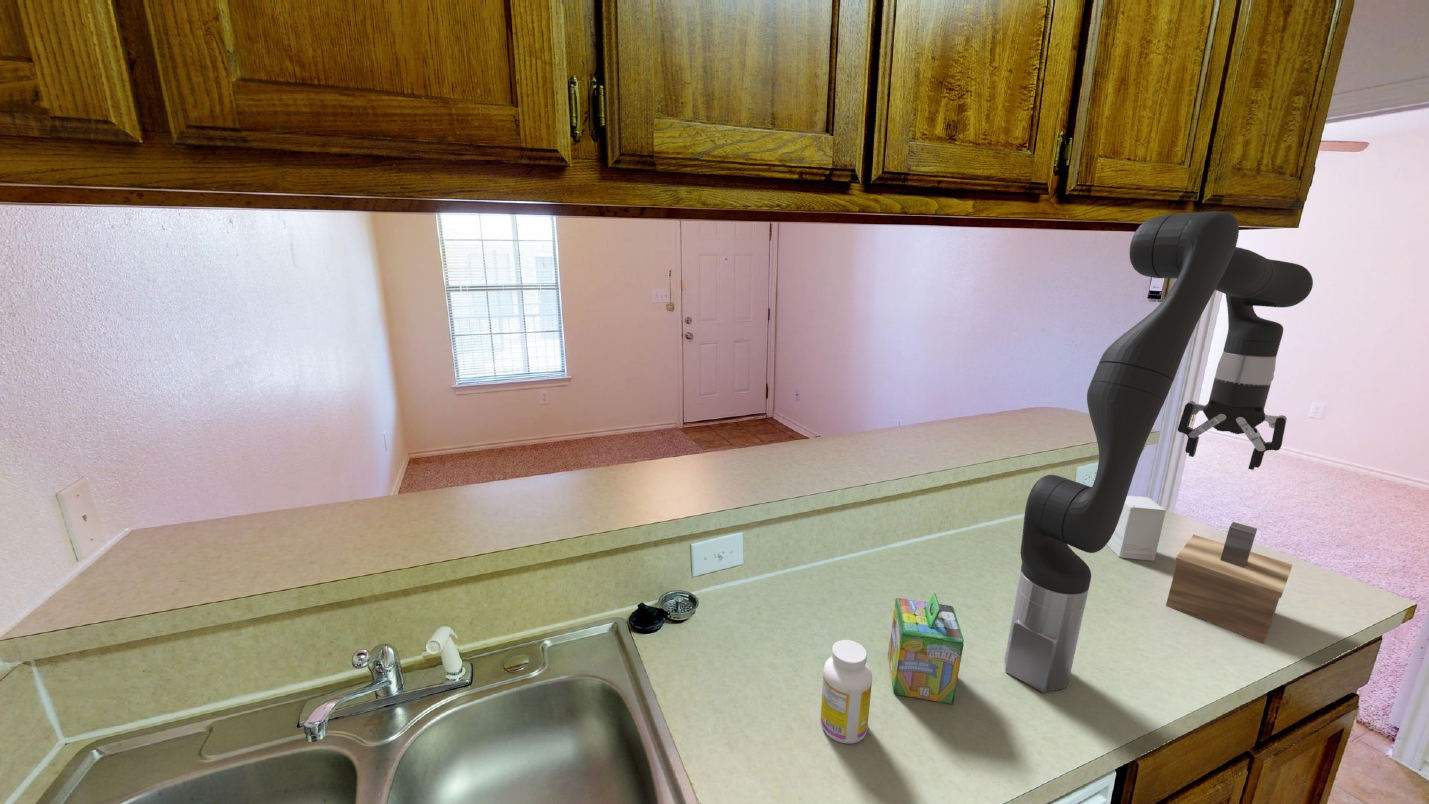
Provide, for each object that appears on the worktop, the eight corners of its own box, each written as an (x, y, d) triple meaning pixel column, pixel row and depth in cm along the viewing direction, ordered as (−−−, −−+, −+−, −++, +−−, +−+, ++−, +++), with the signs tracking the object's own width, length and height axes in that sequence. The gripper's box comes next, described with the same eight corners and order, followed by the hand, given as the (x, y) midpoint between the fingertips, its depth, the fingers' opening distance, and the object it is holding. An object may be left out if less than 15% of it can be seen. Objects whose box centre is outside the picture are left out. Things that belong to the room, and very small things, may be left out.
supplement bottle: (859, 707, 83) (866, 634, 80) (873, 745, 76) (881, 667, 73) (815, 708, 83) (820, 635, 79) (825, 746, 76) (831, 668, 73)
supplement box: (1155, 561, 124) (1167, 510, 121) (1118, 557, 126) (1129, 507, 122) (1137, 545, 131) (1149, 496, 128) (1103, 542, 133) (1113, 493, 129)
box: (1263, 643, 98) (1278, 596, 96) (1165, 605, 108) (1177, 562, 106) (1274, 612, 107) (1288, 569, 104) (1183, 580, 117) (1193, 539, 115)
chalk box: (887, 655, 94) (896, 578, 90) (944, 664, 92) (956, 586, 88) (891, 696, 85) (901, 613, 81) (955, 707, 83) (968, 622, 79)
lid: (1280, 598, 95) (1294, 556, 93) (1174, 562, 106) (1184, 524, 104) (1291, 569, 104) (1303, 530, 102) (1192, 538, 115) (1201, 503, 113)
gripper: (1188, 374, 103) (1168, 456, 107) (1297, 388, 92) (1271, 478, 97) (1195, 369, 107) (1177, 447, 112) (1300, 382, 97) (1275, 468, 101)
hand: (1220, 462), depth 104 cm, fingers open, 8 cm apart
